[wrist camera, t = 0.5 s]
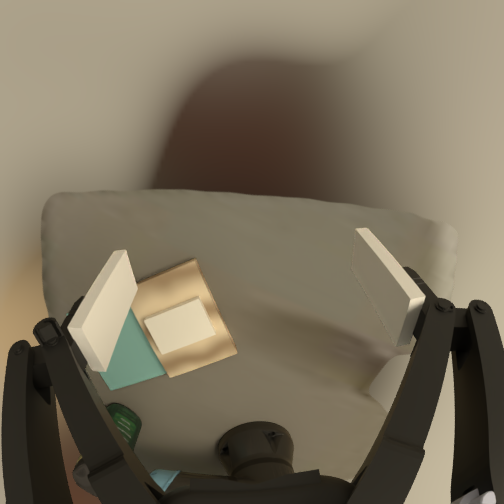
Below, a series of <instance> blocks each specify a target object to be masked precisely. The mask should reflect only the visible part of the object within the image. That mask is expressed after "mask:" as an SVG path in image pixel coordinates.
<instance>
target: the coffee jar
mask: <svg viewBox="0 0 504 504" xmlns="http://www.w3.org/2000/svg"><path fill="white" fill-rule="evenodd" d="M106 409H107V411H108V413H109V414H110V416H111V418H112V419H113V421H114V423H115V424H116V426H117V428H118V429H119V431H120V432H121V434H122V436H123V437H124V439H125V440H126V442H127V443H128V445H129V446H130V448H131V449H132V451H133V450H134V447H135V444H136V441H137V438H138V435H139V432H140V429H141V425H142V423H141V420H140V418H139V417H138V416H137V415H136V414H135V413H134V412H133V411H131V410H130V409H128V408H127V407H125V406H123V405H120V404H111V405H109V406H108V407H106ZM88 474H89V470H88V468H87V466H86V464H85V462H84V460H83V458H82V456H81V455H80V457H79V459H78V461H77V463H76V465H75V468H74V470H73V478H74V480H75V482H76V484H77V485H78V486H79V487H81V488H82V489H84V490H85V491H87V492H89V493H90V494H92V495H94V496H96V497H98V496H97V495H96V493H95V491H94V490H93V488H92V486H91V484H90V482H89V480H88V477H87V475H88Z"/></svg>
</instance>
